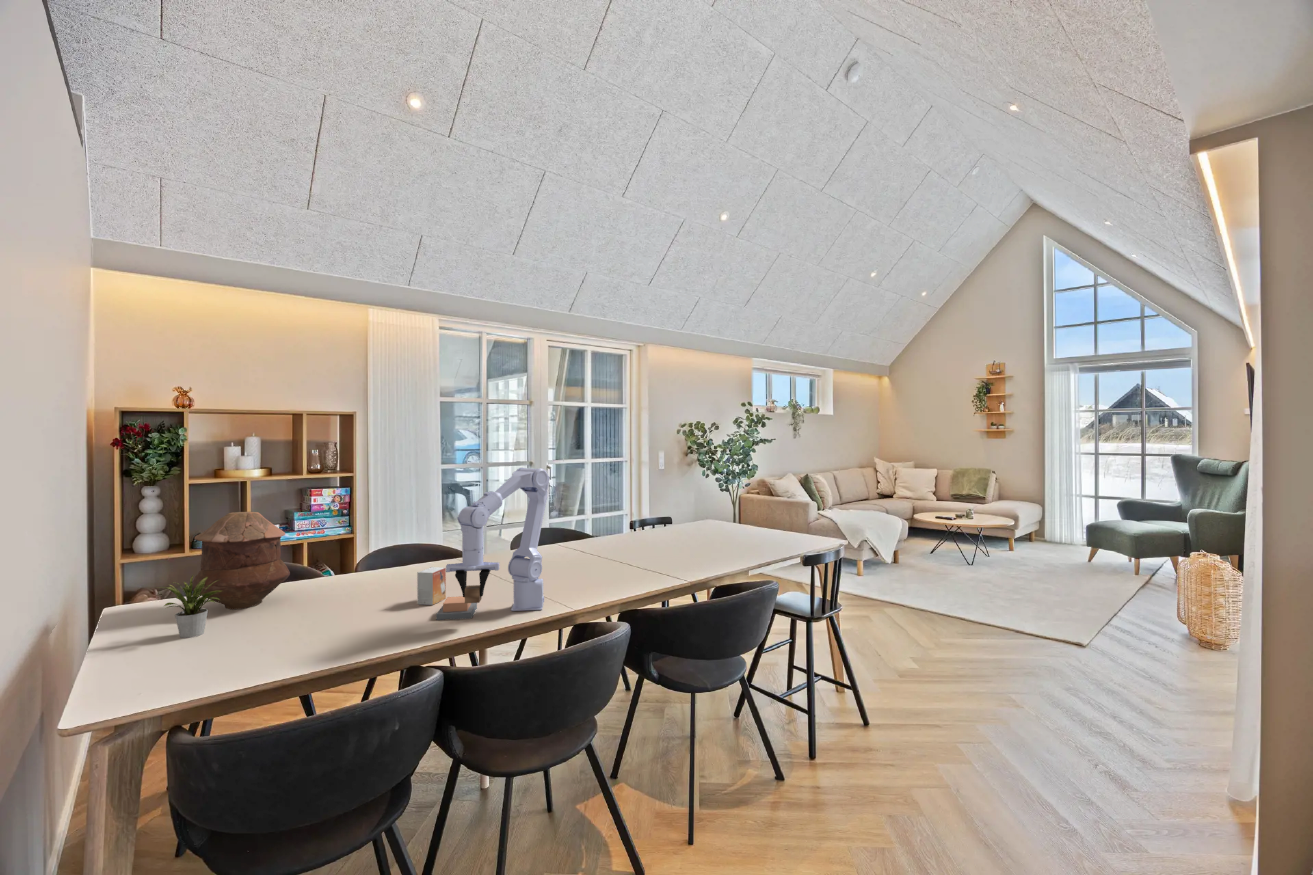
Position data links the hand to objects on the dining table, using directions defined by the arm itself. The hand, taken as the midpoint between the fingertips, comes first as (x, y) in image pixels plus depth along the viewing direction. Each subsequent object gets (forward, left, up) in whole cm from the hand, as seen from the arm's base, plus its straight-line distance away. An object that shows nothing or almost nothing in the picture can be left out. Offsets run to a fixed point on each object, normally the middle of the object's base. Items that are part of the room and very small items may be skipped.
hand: (473, 595), depth 167 cm
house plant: (+76, -2, -9) cm, 76 cm away
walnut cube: (0, 0, -1) cm, 1 cm away
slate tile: (+7, -11, -9) cm, 16 cm away
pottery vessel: (+78, -32, -9) cm, 84 cm away
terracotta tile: (+7, -12, -7) cm, 15 cm away
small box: (+18, -27, -9) cm, 33 cm away
